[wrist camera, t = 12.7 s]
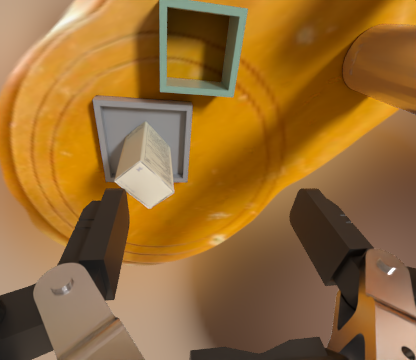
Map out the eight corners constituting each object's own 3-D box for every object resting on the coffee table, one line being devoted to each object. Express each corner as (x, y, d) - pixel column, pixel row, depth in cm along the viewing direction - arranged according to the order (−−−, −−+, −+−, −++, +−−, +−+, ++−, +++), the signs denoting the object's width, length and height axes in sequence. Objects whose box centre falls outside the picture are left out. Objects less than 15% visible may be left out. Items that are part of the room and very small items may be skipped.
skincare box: (125, 136, 37) (110, 180, 27) (146, 119, 36) (139, 158, 26) (152, 162, 40) (148, 210, 30) (173, 148, 39) (175, 193, 29)
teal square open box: (236, 9, 30) (247, 8, 26) (225, 87, 35) (233, 97, 31) (160, -2, 28) (159, -4, 24) (160, 82, 34) (159, 91, 30)
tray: (191, 101, 36) (192, 105, 34) (186, 175, 43) (187, 182, 42) (96, 95, 33) (92, 99, 32) (108, 175, 41) (106, 181, 39)
